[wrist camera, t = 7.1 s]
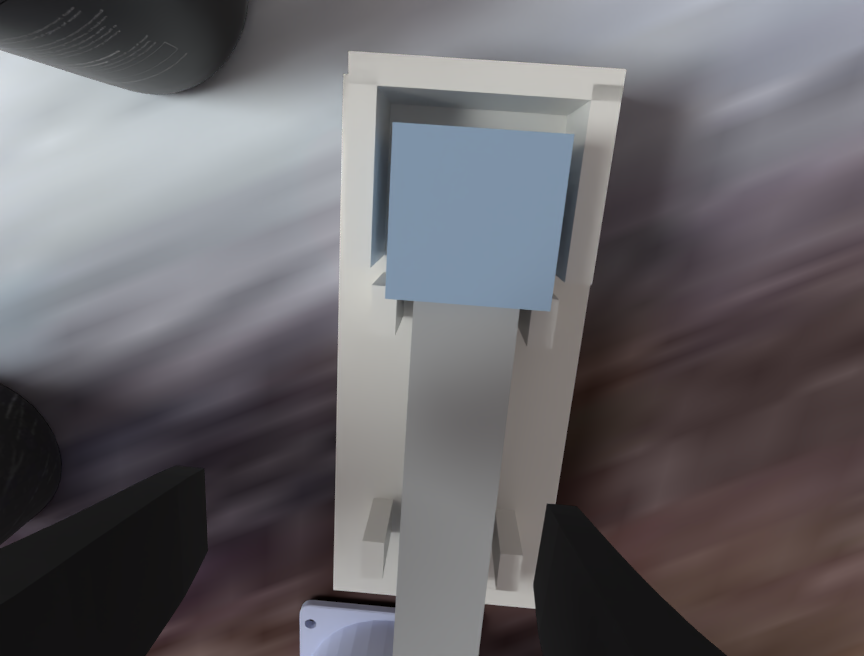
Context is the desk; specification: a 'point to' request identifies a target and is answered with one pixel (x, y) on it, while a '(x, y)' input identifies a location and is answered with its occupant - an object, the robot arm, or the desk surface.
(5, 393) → the travel mug
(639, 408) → the desk surface
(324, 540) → the desk surface
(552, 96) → the slider rail
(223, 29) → the supplement bottle
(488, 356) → the blue-capped grey bar
